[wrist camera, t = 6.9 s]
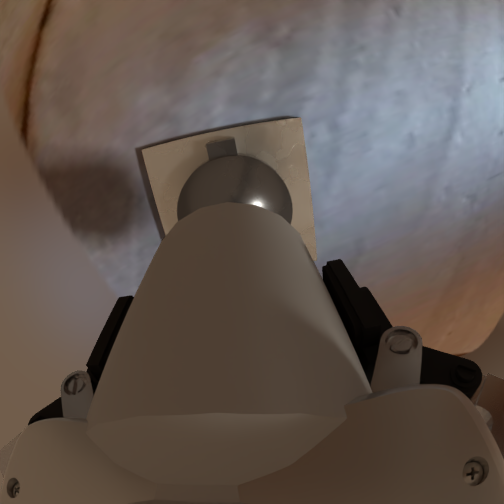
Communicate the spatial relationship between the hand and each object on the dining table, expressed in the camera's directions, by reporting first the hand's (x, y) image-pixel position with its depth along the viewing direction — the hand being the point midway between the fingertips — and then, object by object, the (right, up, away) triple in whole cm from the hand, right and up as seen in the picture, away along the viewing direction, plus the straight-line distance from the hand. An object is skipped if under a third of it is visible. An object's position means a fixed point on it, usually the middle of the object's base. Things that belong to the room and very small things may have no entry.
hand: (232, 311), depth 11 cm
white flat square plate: (-1, +6, +11) cm, 13 cm away
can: (0, +2, +3) cm, 4 cm away
